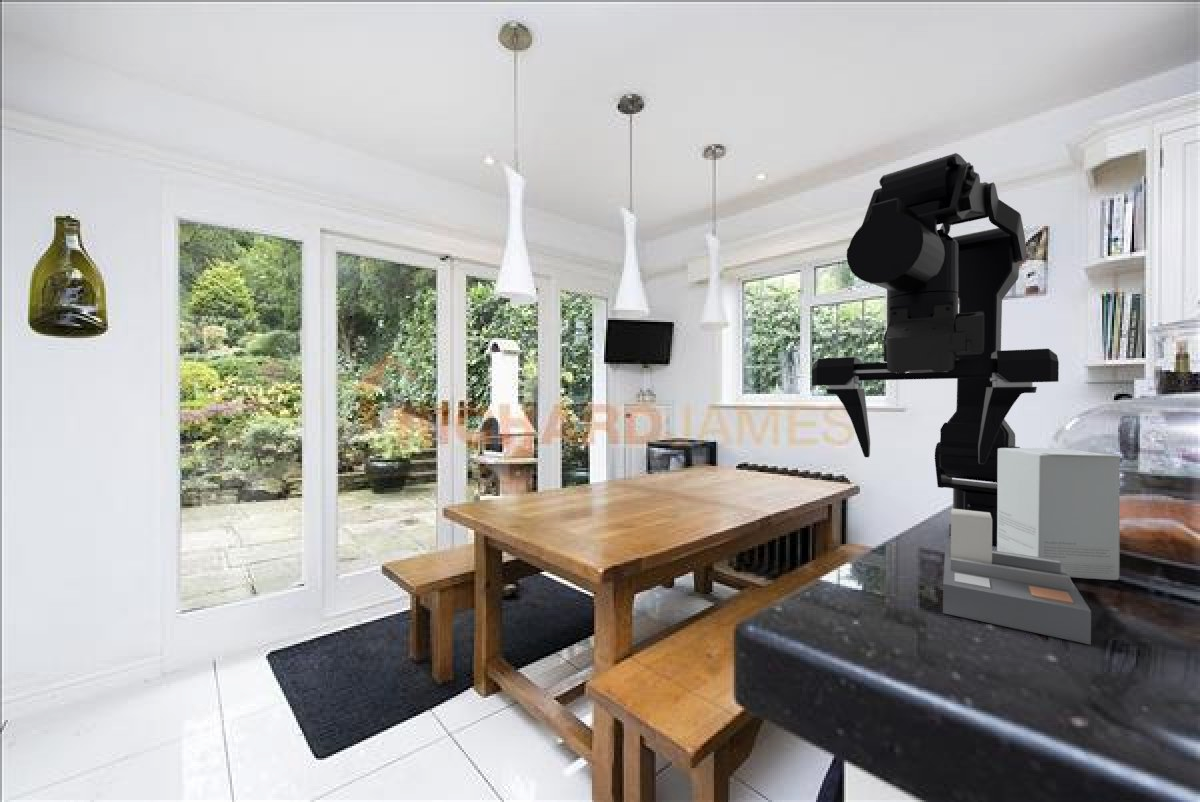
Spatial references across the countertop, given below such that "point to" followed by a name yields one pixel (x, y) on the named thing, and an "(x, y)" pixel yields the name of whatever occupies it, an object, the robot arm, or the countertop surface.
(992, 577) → the switch board
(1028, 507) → the supplement box
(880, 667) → the countertop surface
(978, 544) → the switch tab
